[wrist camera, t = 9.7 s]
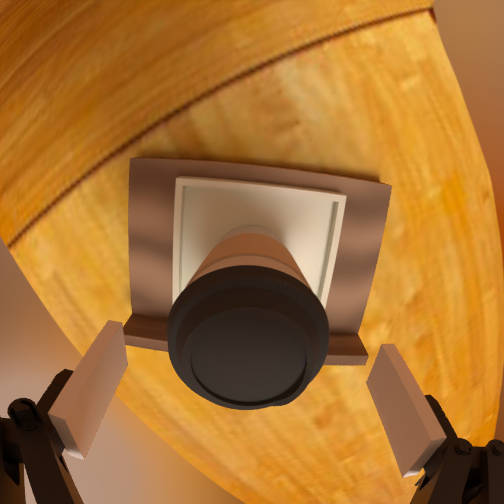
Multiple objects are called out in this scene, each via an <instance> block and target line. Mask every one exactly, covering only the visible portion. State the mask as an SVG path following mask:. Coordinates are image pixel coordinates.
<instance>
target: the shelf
mask: <svg viewBox="0 0 504 504" xmlns="http://www.w3.org/2000/svg"><path fill="white" fill-rule="evenodd" d="M180 176H189V177H203V178H215V179H227V180H238V181H249V182H258V183H268V184H277V185H286V186H294V187H302V188H310V189H317V190H325V191H332V192H339V193H342V194H344V195H346V196H347V197H346V203H345V209H344V215H343V221H342V227H341V233H340V238H339V244H338V249H337V254H336V260H335V265H334V270H333V275H332V280H331V284H330V289H329V294H328V298H327V303H326V307H325V312H326V314H327V318H328V322H329V348H328V353H327V356H326V359H325V362H324V364H323V365H366V362H367V359H368V353H367V351H366V349H365V347H364V345H363V343H362V341H361V339H360V337H359V335H358V332H359V328H360V325H361V322H362V318H363V315H364V311H365V307H366V304H367V300H368V296H369V293H370V289H371V285H372V281H373V277H374V273H375V268H376V264H377V260H378V256H379V251H380V247H381V242H382V237H383V232H384V227H385V222H386V217H387V212H388V206H389V200H390V195H391V189H392V186H391V185H388V184H385V183H382V182H377V181H372V180H366V179H360V178H355V177H348V176H342V175H336V174H329V173H323V172H316V171H308V170H301V169H293V168H285V167H277V166H268V165H258V164H248V163H238V162H226V161H214V160H200V159H183V158H163V157H135V158H130V172H129V211H128V230H129V269H130V289H131V304H132V315H131V316H130V318H129V319H128V321H127V322H126V324H125V325H124V327H123V333H124V341H125V345H129V346H135V347H141V348H147V349H153V350H159V351H166V352H168V341H167V332H166V330H167V320H168V316H169V313H170V310H171V308H172V306H173V230H174V205H175V186H176V178H177V177H180Z"/></svg>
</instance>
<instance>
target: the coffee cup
mask: <svg viewBox="0 0 504 504" xmlns="http://www.w3.org/2000/svg"><path fill="white" fill-rule="evenodd" d="M166 332H167V341H168V352H169V357H170V360H171V363H172V365H173V368H174V369H175V371H176V373H177V374H178V376H179V377H180V379H181V380H182V381H183V382H184V383H185V384H186V385H187V386H188V387H189V388H190V389H191V390H192V391H194V392H195V393H197V394H198V395H200V396H201V397H203V398H205V399H207V400H209V401H211V402H213V403H215V404H217V405H220V406H223V407H227V408H231V409H238V410H254V409H261V408H266V407H270V406H282V405H286V404H288V403H290V402H292V401H293V400H294V399H296V398H297V397H298V396H299V395H300V394H301V393H302V392H303V391H304V390H305V388H306V387H307V385H308V384H309V383H310V382H311V381H312V380H313V379H314V378H315V376H316V375H317V374H318V372H319V371H320V369H321V368H322V366H323V364H324V362H325V359H326V356H327V353H328V348H329V322H328V318H327V314H326V312H325V309H324V307H323V305H322V303H321V302H320V300H319V299H318V297H317V296H316V295H315V294H314V293H313V291H312V289H311V287H310V285H309V284H308V282H307V280H306V278H305V277H304V275H303V273H302V272H301V270H300V268H299V266H298V265H297V263H296V261H295V260H294V258H293V256H292V255H291V253H290V252H289V251H288V249H287V248H286V247H285V246H284V244H283V242H282V241H281V239H280V238H279V237H278V236H277V235H276V234H275V233H273V232H272V231H270V230H269V229H267V228H264V227H261V226H256V225H246V226H241V227H238V228H235V229H233V230H231V231H229V232H228V233H227V234H225V235H224V236H223V237H222V238H221V240H220V241H219V242H218V244H217V245H216V246H215V247H214V248H213V249H212V250H211V252H210V253H209V254H208V256H207V257H206V258H205V260H204V261H203V263H202V264H201V265H200V267H199V268H198V269H197V271H196V272H195V274H194V275H193V276H192V278H191V279H190V281H189V282H188V284H187V285H186V287H185V289H184V290H183V291H182V292H181V293H180V295H179V296H178V297H177V299H176V300H175V302H174V304H173V306H172V308H171V310H170V313H169V316H168V320H167V330H166Z"/></svg>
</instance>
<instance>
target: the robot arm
mask: <svg viewBox="0 0 504 504" xmlns="http://www.w3.org/2000/svg"><path fill="white" fill-rule="evenodd" d="M127 366H128V362H127V355H126V348H125V341H124V333H123V325H122V322H116V321H110V320H108V322H107V323H106V325H105V326H104V327H103V329H102V330H101V332H100V333H99V335H98V336H97V338H96V339H95V340H94V342H93V343H92V345H91V346H90V348H89V349H88V351H87V352H86V354H85V355H84V357H83V358H82V360H81V361H80V363H79V364H78V366H77V367H76V369H75V371H71V370H67V369H64V370H63V371H61V372H60V373H58V374H57V375H56V376H55V378H54V379H53V381H52V383H51V384H50V385H49V387H48V388H47V390H46V391H45V393H44V394H43V396H42V397H41V399H40V400H39V402H38V403H37V405H36V404H35V402H33V401H32V400H30V399H27V398H19V399H16V400H14V401H13V402H12V403H11V404H10V405H9V407H8V412H7V413H8V415H9V417H10V419H9V418H1V417H0V504H26V501H25V487H24V465H25V469H26V472H27V475H28V479H29V482H30V485H31V488H32V491H33V494H34V497H35V500H36V503H37V504H84V503H83V501H82V499H81V497H80V495H79V493H78V491H77V488H76V486H75V484H74V482H73V479H72V477H71V475H70V473H69V470H68V468H67V465H66V463H65V460H64V458H63V456H62V452H63V450H64V448H65V449H66V451H67V452H68V454H69V455H71V456H74V457H77V458H80V459H83V460H85V458H86V456H87V454H88V451H89V449H90V446H91V444H92V442H93V439H94V437H95V435H96V432H97V430H98V428H99V426H100V424H101V421H102V419H103V417H104V415H105V412H106V410H107V408H108V406H109V404H110V401H111V399H112V397H113V395H114V393H115V391H116V389H117V386H118V384H119V382H120V380H121V378H122V376H123V374H124V372H125V370H126V368H127ZM366 383H367V386H368V388H369V391H370V393H371V396H372V398H373V401H374V403H375V406H376V408H377V411H378V413H379V416H380V418H381V421H382V424H383V426H384V429H385V431H386V434H387V437H388V439H389V442H390V445H391V447H392V450H393V453H394V455H395V458H396V461H397V464H398V466H399V469H400V472H401V475H402V478H403V477H408V476H412V475H417V474H418V473H419V471H420V470H421V469H422V468H424V470H425V474H424V475H423V476H422V477H421V478H420V479H419V481H418V482H417V483H416V484H415V486H417V485H418V484H419V485H418V488H417V490H416V492H415V494H414V496H413V498H412V500H411V502H410V504H504V443H503V442H502V441H500V440H496V439H495V440H491V441H489V442H488V444H487V445H486V446H485V447H474V446H472V445H471V443H470V442H469V441H467V440H465V439H462V438H458V437H457V435H456V433H455V431H454V429H453V428H452V426H451V424H450V422H449V420H448V419H447V417H445V413H444V412H443V410H442V408H441V406H440V405H439V403H438V401H437V400H436V399H434V398H433V397H432V396H431V395H424V394H423V392H422V391H421V389H420V387H419V385H418V384H417V382H416V380H415V378H414V377H413V375H412V373H411V372H410V370H409V368H408V366H407V365H406V363H405V361H404V360H403V358H402V356H401V355H400V353H399V351H398V350H397V348H396V346H395V345H394V344H381V347H380V349H379V352H378V355H377V357H376V360H375V363H374V365H373V368H372V370H371V373H370V375H369V378H368V380H367V382H366Z"/></svg>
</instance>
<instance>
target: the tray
mask: <svg viewBox="0 0 504 504" xmlns="http://www.w3.org/2000/svg"><path fill="white" fill-rule="evenodd" d="M346 197H347V196H346V195H344V194H342V193H339V192H332V191H325V190H317V189H310V188H302V187H294V186H286V185H277V184H268V183H258V182H249V181H238V180H227V179H215V178H203V177H189V176H180V177H177V178H176V186H175V205H174V230H173V304H174V302H175V300H176V299H177V297H178V296H179V295H180V293H181V292H182V291H183V290H184V289H185V287H186V285H187V284H188V282H189V281H190V279H191V278H192V276H193V275H194V274H195V272H196V271H197V269H198V268H199V267H200V265H201V264H202V263H203V261H204V260H205V258H206V257H207V256H208V254H209V253H210V252H211V250H212V249H213V248H214V247H215V246H216V245H217V244H218V242H219V241H220V240H221V238H222V237H223V236H224V235H225V234H227V233H228V232H229V231H231V230H233V229H235V228H238V227H241V226H246V225H256V226H261V227H264V228H267V229H269V230H270V231H272V232H273V233H275V234H276V235H277V236H278V237H279V238H280V239H281V241H282V242H283V244H284V246H285V247H286V248H287V249H288V251H289V252H290V253H291V255H292V256H293V258H294V260H295V261H296V263H297V265H298V266H299V268H300V270H301V272H302V273H303V275H304V277H305V278H306V280H307V282H308V284H309V285H310V287H311V289H312V291H313V293H314V294H315V295H316V296H317V297H318V299H319V300H320V302H321V303H322V305H323V307H324V309H325V307H326V303H327V298H328V294H329V289H330V284H331V280H332V275H333V270H334V265H335V260H336V254H337V249H338V244H339V238H340V233H341V227H342V221H343V215H344V209H345V203H346Z"/></svg>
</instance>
